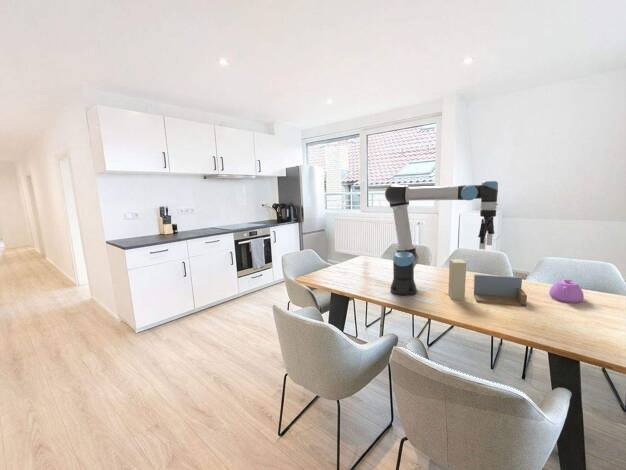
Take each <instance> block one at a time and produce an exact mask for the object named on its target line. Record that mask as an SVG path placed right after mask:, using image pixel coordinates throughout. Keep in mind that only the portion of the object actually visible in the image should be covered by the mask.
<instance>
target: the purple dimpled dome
mask: <svg viewBox="0 0 626 470" xmlns="http://www.w3.org/2000/svg"><path fill="white" fill-rule="evenodd" d="M548 292H549V296H550V297H551V298H552V299H554V300H556V301H559V302H563V303H570V304H571V303H572V304H578V303H580V302H582V301H583V300H585V299H584V298H585V296H584V291H583V290H582V288H581V287H580V285H579V284H578V283H577V282H574V281H573V280H571V279H567V278H563V279H562V280H557V281H555V283H554V284H552V286H551V287H550V289H549V291H548ZM577 302H578V303H577Z"/></svg>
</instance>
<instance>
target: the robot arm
mask: <svg viewBox="0 0 626 470" xmlns="http://www.w3.org/2000/svg"><path fill="white" fill-rule="evenodd" d="M498 192H499V182H498V181H495V180H492V181H491V180H490V181H489V180H487V181H486V180H485V181H484V180H483V181H482V183H481V184H473V185H472V184H469V185H468V184H467V185H465V184H463V185H443V186H442V185H440V186H439V185H437V186H409V185H404V184H401V183H395V184H390V185H389V186H388V187H387V188H386V190H385V191H384V197H385V199H386V201H387V202H388V203H389V208H391V210H392V211H393V218H394V224H395V225H394V226H395V232H396V239H397V246H398V247H397V248H396V252H395V253H394V254H393V259H392V264H393V279H392V282H391V285H390V293H392V294H394V295H396V296H403V297H406V296H408V297H409V296H414V295H415V294H417V293H418V288H417V286H416V282H415V279H414V277H415V276H414V275H415V274H414V273H415V267H416V266H417V264H418V262H419V256H418V253H417V250H416V246H415V245H414V244H413V240H412V233H411V232H412V231H411V226H410V217H409V211H408V207H409V205H410V202H411V201H413V202H414V201H473V200H474V199H475V200H477V199H480V213H479V216H480V217H482V219H481V223H480V228H479V233H478V238H479V243H478V244H479V245H478V249H479V250H486V246H493V237H494V234H495V227H494V217H496V216H497V210H496V209H497V206H498V205H499V204H498Z"/></svg>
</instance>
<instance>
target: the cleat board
mask: <svg viewBox="0 0 626 470" xmlns="http://www.w3.org/2000/svg"><path fill="white" fill-rule="evenodd" d="M473 277H474V278H473V279H474V280H473V297H474V299H475V302H476V303H481V304H482V303H483V304H491V305H492V304H493V305H503V306H505V305H506V306H514V307H515V306H516V307H525V308H526V307H527V297H528V295H527V294H526V292H525V291H524V290H523V289H522V285H523V283H522V282H523V277H522V276H515V275H513V276H512V275H498V274H497V275H494V274H479V273H474V276H473Z"/></svg>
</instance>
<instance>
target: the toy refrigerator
mask: <svg viewBox="0 0 626 470" xmlns="http://www.w3.org/2000/svg"><path fill="white" fill-rule="evenodd" d="M448 270H449V271H448V296H449V297H450V299H451V300H453V301H455V300H457V301H459V300H460V301H465V298H466V297H465V296H466V295H465V294H466V277H467V276H466V274H467V262H466V261H465V260H463V259H461V258H458V259H455V258H454V259H451V258H450V259H449V267H448Z"/></svg>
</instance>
